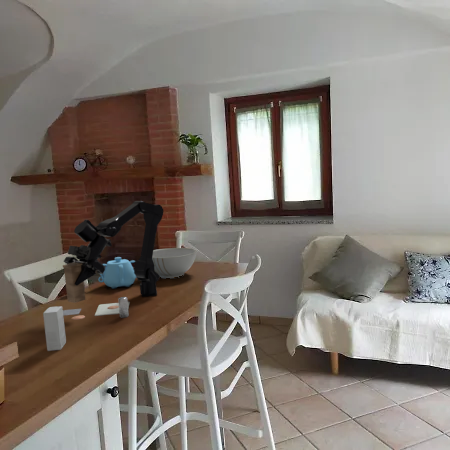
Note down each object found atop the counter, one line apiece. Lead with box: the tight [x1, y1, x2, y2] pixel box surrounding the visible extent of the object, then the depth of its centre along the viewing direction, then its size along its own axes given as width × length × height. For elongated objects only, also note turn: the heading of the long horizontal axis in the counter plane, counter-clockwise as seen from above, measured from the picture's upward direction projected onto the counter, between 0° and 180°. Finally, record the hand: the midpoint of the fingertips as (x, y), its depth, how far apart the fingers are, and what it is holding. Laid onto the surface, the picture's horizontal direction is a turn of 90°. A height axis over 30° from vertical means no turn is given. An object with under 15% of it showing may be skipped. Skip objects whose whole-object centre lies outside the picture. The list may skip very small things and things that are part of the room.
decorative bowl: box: [152, 247, 198, 279], centre depth 226 cm, size 27×27×12 cm
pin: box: [118, 296, 130, 319], centre depth 163 cm, size 3×3×7 cm
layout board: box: [63, 301, 131, 321], centre depth 172 cm, size 26×16×1 cm, turn 99°
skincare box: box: [42, 306, 67, 352], centre depth 137 cm, size 6×4×12 cm
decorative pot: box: [97, 256, 137, 290], centre depth 211 cm, size 16×16×14 cm
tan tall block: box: [62, 262, 86, 304], centre depth 163 cm, size 5×5×14 cm
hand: (71, 284), depth 162 cm, fingers closed on tan tall block, 4 cm apart
